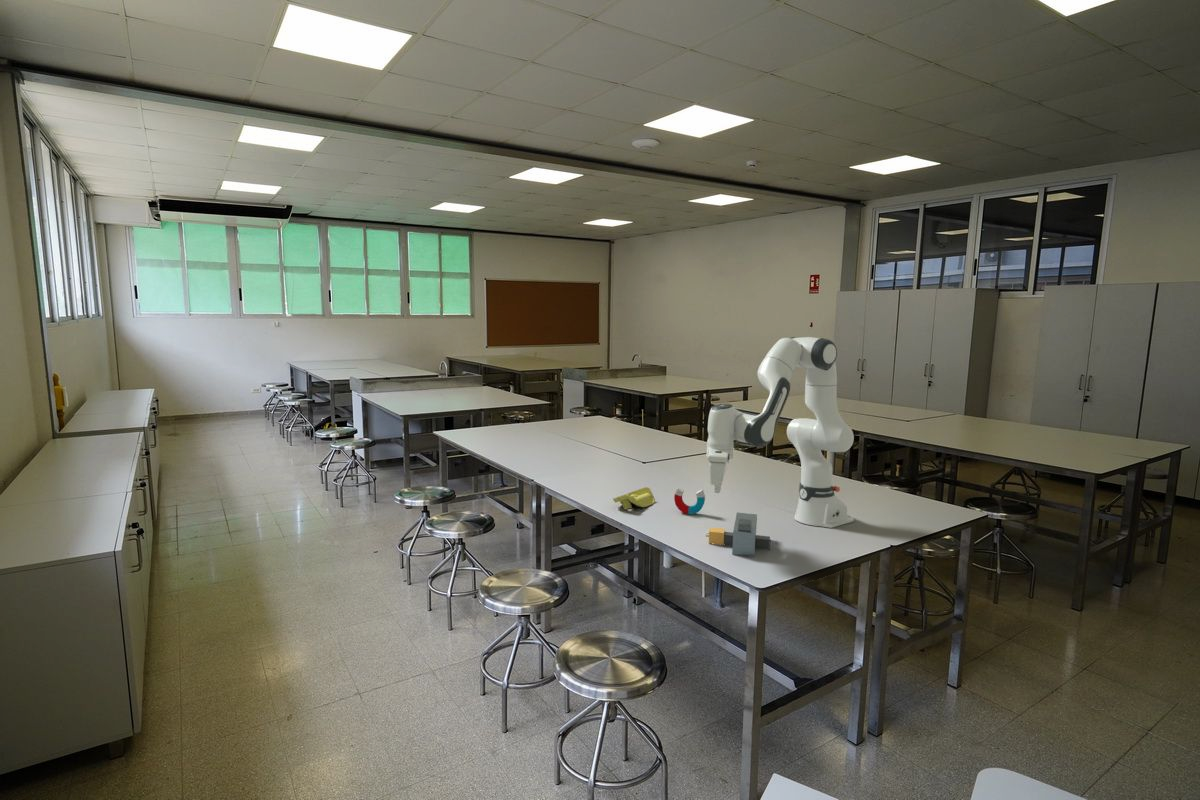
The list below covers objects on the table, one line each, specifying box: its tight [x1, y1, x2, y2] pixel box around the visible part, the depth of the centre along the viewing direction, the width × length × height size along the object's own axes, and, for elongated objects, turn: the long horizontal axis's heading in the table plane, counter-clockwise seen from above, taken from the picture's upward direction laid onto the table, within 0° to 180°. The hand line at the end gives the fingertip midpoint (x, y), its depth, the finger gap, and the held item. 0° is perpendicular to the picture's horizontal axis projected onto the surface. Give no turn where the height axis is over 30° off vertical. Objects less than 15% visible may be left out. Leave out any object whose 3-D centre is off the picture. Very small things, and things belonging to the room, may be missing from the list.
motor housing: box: [731, 512, 758, 558], centre depth 204 cm, size 7×20×10 cm, turn 164°
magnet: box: [673, 486, 706, 515], centre depth 237 cm, size 12×3×10 cm, turn 73°
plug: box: [705, 527, 771, 551], centre depth 205 cm, size 21×4×4 cm, turn 74°
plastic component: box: [612, 486, 656, 510], centre depth 246 cm, size 20×7×10 cm
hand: (717, 491), depth 205 cm, fingers closed
